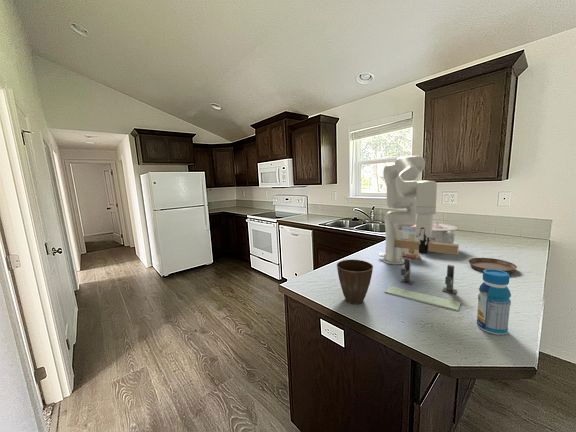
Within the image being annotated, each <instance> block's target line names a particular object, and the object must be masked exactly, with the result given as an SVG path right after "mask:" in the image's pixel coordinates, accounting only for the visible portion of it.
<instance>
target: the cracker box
mask: <svg viewBox="0 0 576 432" xmlns="http://www.w3.org/2000/svg"><path fill="white" fill-rule="evenodd" d="M398 229H399V230H400V231H401V232H402V239H410V240H420V235H419V236H418V237H416V236H415V234H416V225H414V226H410V227H398ZM402 257H405V258H409V259H411V258H412V259H419V258H420V257H421V253H419V250H414V249H406V248H402Z"/></svg>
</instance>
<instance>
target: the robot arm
mask: <svg viewBox="0 0 576 432" xmlns="http://www.w3.org/2000/svg"><path fill="white" fill-rule="evenodd" d="M425 167H426V161H425V159H424V157H423V156H422V155H421V156H420V155H407V156H400V157H398V158H396V160H395V161H394V163H389V164H386V165H385V166H384V168H383V174H382V175H383V179H384V182H385V186H386V206H387V208H388V209H390V210H393V211H387V212H386V213H385V214H384V216H383V220H384V228H385V252H384V253H382V252H379V253H378V256H379V257H381V258H382V262H383V263H385V264H389V265H398V266H399V265H403V264H404V259H405V258H403V256H402V248H398V247H394V239H396V238H401V239H402V232H401V231H400V230H399V229H398V227H410V226H414V225H415V224H416V234H415V236H416V237H418V236H419V235H420V240H419V253H420V255H421V254H422V255H428V253H429V252H430V251H428V245H427V241H430V235H431V234H432V225H433V223H434V222H433V221H434V220H433V219H434V217H433V216H434V215H436V213H437V195H438V194H437V188H438V186H437V184H438V183H437V182H436V181H434V180H425V179H424V180H417V179H418V178H419V175H420V174H421V173H422V172H423V171H424V169H425ZM402 209H403V210H402ZM394 210H395V211H394ZM396 210H397V211H396Z"/></svg>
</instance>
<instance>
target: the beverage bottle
mask: <svg viewBox="0 0 576 432" xmlns="http://www.w3.org/2000/svg"><path fill="white" fill-rule="evenodd" d="M510 277H511V276H510V273H506V272H504V271H500V270H495V269H486V270H484V271H482V281H483V282H482V283H481V284H480V285H479V287H478V291H479V293H478V295H477V299H478V301H477V302H478V303H477V314H476V317H477V318H476V325H477V327H478V328H479V329H480V330H482V331H484V332H486V333H489V334H493V335H496V336H497V335H499V336H502V335H506V334H507V333H508V331H509V318H510V310H511V309H510V307H511V304H512V301H511V299H510V298H511V296H512V293H511V290H510V289H509V287H508V285H509V284H510Z"/></svg>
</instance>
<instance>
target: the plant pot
mask: <svg viewBox="0 0 576 432" xmlns="http://www.w3.org/2000/svg"><path fill="white" fill-rule="evenodd" d="M336 268H337V274H338V279H339V284H340V288H341V291H342V293H343V297H344V298H345V301H346V302H347V303H349V304H352V305H360V303H361V304H362V303H363V302H364V300H365V298H366V296H367V293H368V290H369V287H370V284H371V281H372V275H373V270H374V265H373V264H372V263H370V262H368V261H365V260H363V259H362V260H361V259H344V260H341V261H339V262H337V263H336Z"/></svg>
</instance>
